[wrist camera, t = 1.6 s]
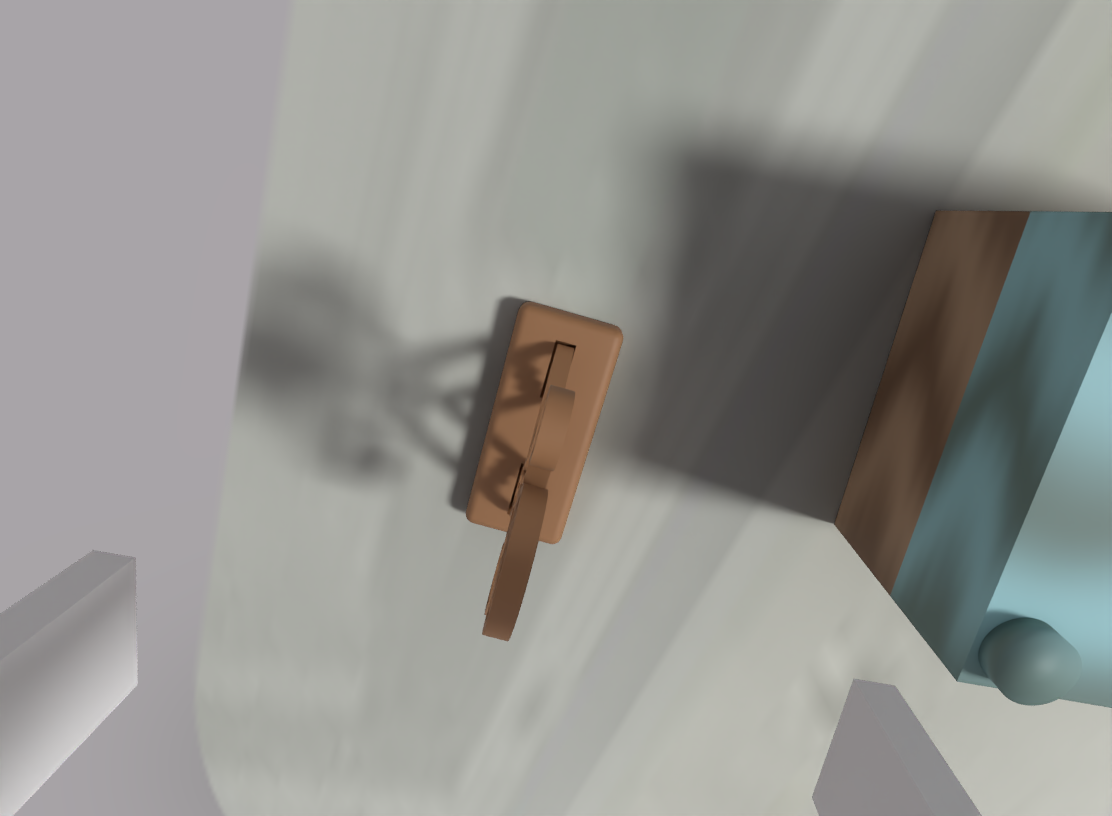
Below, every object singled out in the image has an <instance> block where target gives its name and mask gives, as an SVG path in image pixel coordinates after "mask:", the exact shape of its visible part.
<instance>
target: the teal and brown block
mask: <svg viewBox="0 0 1112 816" xmlns="http://www.w3.org/2000/svg"><path fill="white" fill-rule="evenodd" d="M834 525H835V526H836V527H837V528H838V530H839V531H840V532H841V534H842V535H843V536H844V537H845V539H846V540H847V541H848V543H849V544H850V545H851V546H852V548H853V549H854V550H855V552H856V553H857V554H858V555H859V557H860V558H861V559H862V560H863V562H864V563H865V564H866V566H867V567H868V568H869V569H870V571H871V572H872V573H873V575H874V576H875V577H876V578H877V580H878V581H879V582H880V583H881V585H882V586H883V587H884V589H885V590H886V591H887V592H888V594H889V595H890V596H891V598H892V599H893V600H894V601H895V603H896V604H897V605H898V607H899V608H900V609H901V610H902V612H903V613H904V614H905V615H906V617H907V618H908V619H909V621H910V622H911V623H912V624H913V626H914V627H915V628H916V630H917V631H918V632H919V633H920V635H921V636H922V637H923V638H924V640H925V641H926V642H927V644H928V645H929V646H930V647H931V649H932V650H933V651H934V653H935V654H936V655H937V656H938V658H939V659H940V660H941V662H942V663H943V664H944V665H945V667H946V668H947V669H948V670H949V672H950V673H951V674H952V676H953V677H954V678H955V679H956V681H958V682H964V683H969V684H975V685H981V686H987V687H993V688H998V689H999V690H1000V691H1001V692H1002V693H1003V694H1004V695H1005V696H1006V697H1007V698H1008V699H1010V700H1011V701H1013V702H1016V703H1018V704H1023V705H1042V704H1047V703H1050V702H1053V701H1055V700H1057V699H1063V700H1069V701H1075V702H1081V703H1086V704H1092V705H1098V706H1104V707H1110V708H1112V212H1042V211H936V212H935V215H934V219H933V222H932V225H931V228H930V231H929V234H928V237H927V240H926V243H925V246H924V249H923V252H922V255H921V259H920V262H919V265H918V268H917V271H916V274H915V277H914V280H913V283H912V286H911V289H910V292H909V296H908V299H907V302H906V305H905V308H904V311H903V314H902V317H901V320H900V323H899V326H898V329H897V332H896V336H895V339H894V342H893V345H892V348H891V351H890V354H889V357H888V360H887V363H886V366H885V369H884V373H883V376H882V379H881V382H880V385H879V388H878V391H877V394H876V397H875V400H874V403H873V406H872V410H871V413H870V416H869V419H868V422H867V425H866V428H865V431H864V434H863V437H862V440H861V443H860V446H859V450H858V453H857V456H856V459H855V462H854V465H853V468H852V471H851V474H850V477H849V480H848V483H847V487H846V490H845V493H844V496H843V499H842V502H841V505H840V508H839V511H838V514H837V517H836V520H835V523H834Z"/></svg>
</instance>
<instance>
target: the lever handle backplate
mask: <svg viewBox="0 0 1112 816" xmlns="http://www.w3.org/2000/svg"><path fill="white" fill-rule="evenodd" d="M622 342H623V334H622V331H621V329H620V328H619V327H617V326H615V325H612V324H608V323H605V322H601V321H598V320H594V319H591V318H587V317H584V316H580V315H577V314H573V313H570V312H566V311H563V310H559V309H556V308H552V307H549V306H545V305H542V304H538V303H535V302H525V303H523V304H522V305H521V307H520V308H519V311H518V314H517V318H516V322H515V326H514V329H513V333H512V337H511V341H510V345H509V349H508V352H507V356H506V360H505V364H504V368H503V372H502V375H501V379H500V383H499V387H498V391H497V395H496V398H495V402H494V406H493V410H492V414H491V418H490V421H489V425H488V429H487V433H486V437H485V441H484V445H483V448H482V452H481V456H480V460H479V464H478V468H477V471H476V475H475V479H474V483H473V487H472V491H471V494H470V498H469V502H468V506H467V510H466V517H467V519H468V520H469V521H470V522H472V523H475V524H479V525H483V526H487V527H490V528H494V529H498V530H501V531H505V532H507V534H506V538H505V542H504V543H503V546H502V550H501V553H500V556H499V560H498V563H497V567H496V571H495V574H494V578H493V582H492V585H491V589H490V593H489V597H488V601H487V605H486V609H485V614H484V615H486V619H485V623H484V627H483V632H482V635H486V636H489V637H493V638H497V639H501V640H505V641H509V639H510V637H511V634H512V632H513V629H514V626H515V623H516V620H517V617H518V614H519V610H520V607H521V604H522V600H523V597H524V594H525V590H526V587H527V583H528V579H529V576H530V572H531V568H532V564H533V561H534V557H535V553H536V549H537V545H538V541H542V542H546V543H549V544H555V543H557V542H559V541H560V539H561V537H562V534H563V531H564V527H565V524H566V521H567V518H568V515H569V511H570V508H571V505H572V502H573V499H574V495H575V492H576V489H577V486H578V483H579V479H580V476H581V473H582V470H583V467H584V463H585V460H586V457H587V454H588V451H589V447H590V444H591V441H592V438H593V435H594V432H595V428H596V425H597V422H598V419H599V416H600V412H601V409H602V406H603V403H604V400H605V396H606V393H607V390H608V387H609V384H610V380H611V377H612V374H613V371H614V368H615V364H616V361H617V358H618V355H619V352H620V348H621V345H622Z"/></svg>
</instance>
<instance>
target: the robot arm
mask: <svg viewBox="0 0 1112 816" xmlns="http://www.w3.org/2000/svg"><path fill="white" fill-rule="evenodd" d="M136 616H137V614H136V558H135V557H130V556H124V555H118V554H112V553H107V552H101V551H94V550H93V551H92V552H90V553H89V554H87V555H86V556H84V557H83V558H81V559H80V560H78V561H77V562H75V563H74V564H72V565H71V566H70V567H68V568H67V569H65V570H64V571H62V572H61V573H59V574H58V575H56V576H55V577H53V578H52V579H50V580H49V581H48V582H46V583H44V584H43V585H42V586H40V587H39V588H37V589H36V590H34V591H33V592H31V593H30V594H28V595H27V596H25V597H24V598H22V599H21V600H20V601H18V602H17V603H15V604H14V605H12V606H11V607H9V608H8V609H6V610H5V611H4V612H2V613H0V816H13V815H14V814H15V813H16V812H17V811H18V810H19V809H20V808H21V807H22V806H23V805H24V803H26V801H27V800H28V799H29V798H30V797H31V796H32V795H33V794H34V793H35V792H36V791H37V790H38V789H39V788H40V787H41V786H42V785H43V784H44V783H45V781H46V780H47V779H48V778H49V777H50V776H51V775H52V774H53V773H54V772H55V771H56V770H57V769H58V768H59V767H60V766H61V765H62V764H63V762H64V761H65V760H66V759H67V758H68V757H69V756H70V755H71V754H72V753H73V752H74V751H75V750H76V749H77V748H78V747H79V746H80V745H81V743H83V742H84V740H85V739H86V738H87V737H88V736H89V735H90V734H91V733H92V732H93V731H94V730H95V729H96V728H97V727H98V726H99V725H100V724H101V723H102V722H103V720H104V719H105V718H106V717H107V716H108V715H109V714H110V713H111V712H112V711H113V710H114V709H115V708H116V707H117V706H118V705H119V704H120V703H121V701H122V700H123V699H124V698H125V697H126V696H127V695H128V694H129V693H130V692H131V691H132V690H133V689H134V688H135V687H136V686H137V685H138V675H137V617H136ZM812 799H813V801H814V804H815V806H816V809H817V811H818V814H819V816H982V815H981V814H980V812H979V811H978V809H977V808H976V806H975V805H974V803H973V802H972V800H971V799H970V797H969V796H968V794H967V793H966V791H965V790H964V788H963V787H962V785H961V784H960V782H959V781H958V779H957V778H956V776H955V775H954V773H953V772H952V770H951V769H950V767H949V766H948V764H947V763H946V761H945V760H944V758H943V757H942V755H941V754H940V752H939V751H938V749H937V748H936V746H935V745H934V743H933V742H932V740H931V739H930V737H929V736H928V734H927V733H926V731H925V730H924V728H923V727H922V725H921V724H920V722H919V721H918V719H917V718H916V716H915V715H914V713H913V712H912V710H911V709H910V707H909V706H908V704H907V703H906V701H905V700H904V698H903V697H902V695H901V694H900V692H899V691H898V689H897V688H896V686H894V685H888V684H882V683H877V682H871V681H865V680H859V679H853V682H852V685H851V688H850V691H849V694H848V696H847V699H846V702H845V705H844V708H843V711H842V713H841V716H840V719H839V722H838V725H837V728H836V730H835V733H834V736H833V739H832V742H831V745H830V747H829V750H828V753H827V756H826V759H825V762H824V764H823V767H822V770H821V773H820V776H819V779H818V782H817V784H816V787H815V790H814V793H813V796H812Z"/></svg>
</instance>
